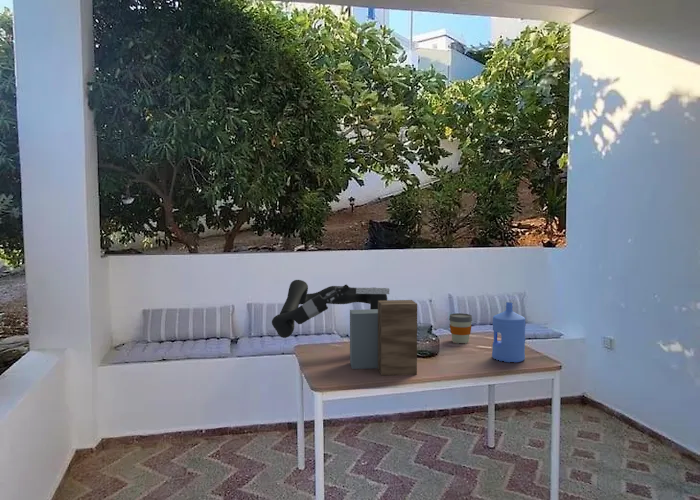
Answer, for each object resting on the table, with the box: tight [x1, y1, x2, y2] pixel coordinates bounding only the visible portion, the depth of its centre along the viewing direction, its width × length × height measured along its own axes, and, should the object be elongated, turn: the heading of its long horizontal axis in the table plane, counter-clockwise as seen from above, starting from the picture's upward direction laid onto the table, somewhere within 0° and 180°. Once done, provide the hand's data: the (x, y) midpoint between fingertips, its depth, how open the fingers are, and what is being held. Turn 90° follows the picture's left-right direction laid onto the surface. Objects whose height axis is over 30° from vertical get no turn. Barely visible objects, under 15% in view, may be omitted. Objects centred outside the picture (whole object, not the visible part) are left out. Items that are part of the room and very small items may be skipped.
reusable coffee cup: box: [449, 312, 473, 344], centre depth 295 cm, size 13×13×15 cm
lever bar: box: [335, 286, 390, 295], centre depth 235 cm, size 3×24×2 cm, turn 97°
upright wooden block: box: [377, 299, 418, 377], centre depth 239 cm, size 11×16×32 cm
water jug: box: [491, 301, 526, 363], centre depth 260 cm, size 16×16×28 cm
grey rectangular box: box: [349, 308, 378, 370], centre depth 249 cm, size 10×20×26 cm, turn 96°
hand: (348, 286), depth 234 cm, fingers closed on lever bar, 3 cm apart
